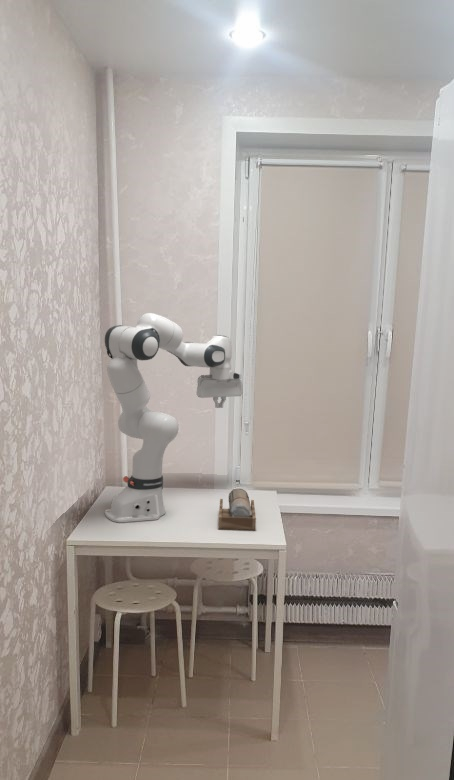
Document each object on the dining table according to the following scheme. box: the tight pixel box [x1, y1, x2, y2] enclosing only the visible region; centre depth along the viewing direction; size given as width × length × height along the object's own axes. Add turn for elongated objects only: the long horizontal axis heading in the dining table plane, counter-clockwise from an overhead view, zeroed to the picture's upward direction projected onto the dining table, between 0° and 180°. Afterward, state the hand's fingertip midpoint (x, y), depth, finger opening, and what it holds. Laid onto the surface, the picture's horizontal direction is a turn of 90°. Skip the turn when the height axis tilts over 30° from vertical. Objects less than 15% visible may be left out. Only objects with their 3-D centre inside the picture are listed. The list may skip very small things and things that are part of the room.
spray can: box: [228, 488, 252, 517], centre depth 225 cm, size 8×8×20 cm
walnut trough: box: [217, 498, 257, 532], centre depth 223 cm, size 22×13×4 cm, turn 179°
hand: (219, 407), depth 250 cm, fingers closed
